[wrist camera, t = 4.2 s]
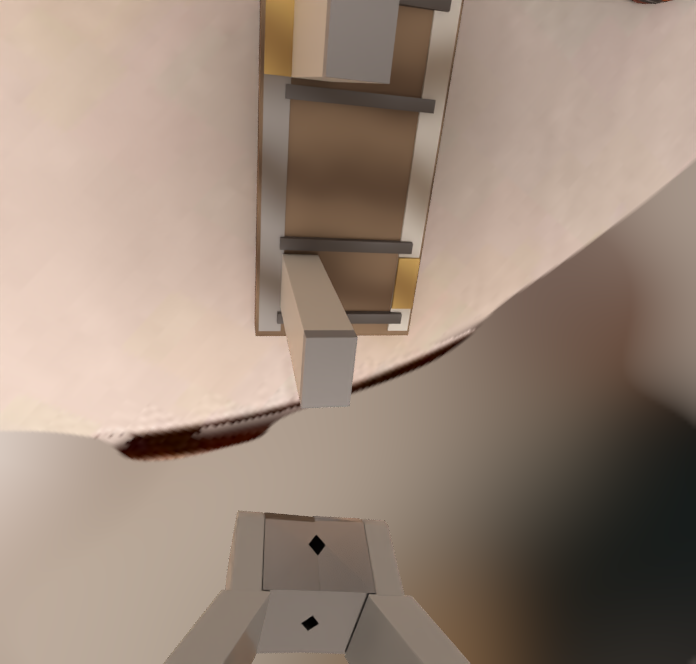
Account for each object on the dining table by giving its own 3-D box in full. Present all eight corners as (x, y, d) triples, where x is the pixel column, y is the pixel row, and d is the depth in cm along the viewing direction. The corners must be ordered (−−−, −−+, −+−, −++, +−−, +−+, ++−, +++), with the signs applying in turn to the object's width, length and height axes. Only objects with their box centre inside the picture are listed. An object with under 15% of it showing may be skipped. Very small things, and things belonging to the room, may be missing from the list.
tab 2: (282, 253, 34) (305, 337, 23) (317, 254, 35) (357, 337, 24) (280, 306, 36) (301, 408, 25) (314, 306, 37) (349, 406, 26)
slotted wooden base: (261, -54, 28) (263, -66, 26) (455, -21, 31) (472, -29, 29) (254, 324, 39) (256, 339, 37) (400, 324, 42) (410, 338, 39)
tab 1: (294, -2, 28) (335, -56, 17) (337, 4, 29) (404, -44, 17) (291, 77, 30) (325, 76, 19) (331, 81, 30) (389, 84, 19)
